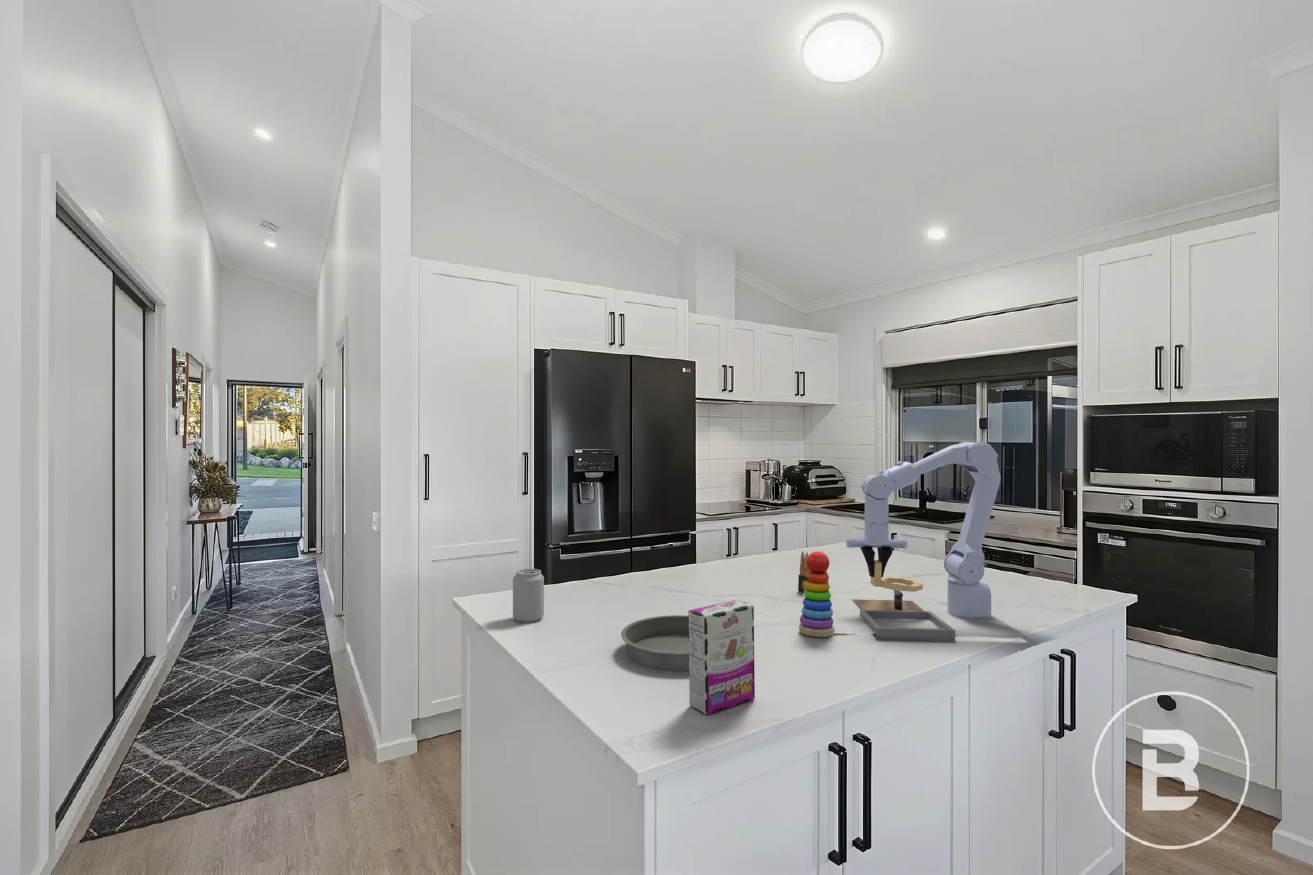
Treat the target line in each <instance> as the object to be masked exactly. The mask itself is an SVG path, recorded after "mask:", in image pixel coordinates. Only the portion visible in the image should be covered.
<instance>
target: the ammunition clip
mask: <svg viewBox="0 0 1313 875" xmlns="http://www.w3.org/2000/svg"><path fill="white" fill-rule="evenodd" d="M805 552H806V553H805ZM805 552H804V551H803V550H802V551H801V553H800V562H799V574H798V578H797V580H798V582H797V588H798V589H797V592H798V591H799V592H801V593H800V594H802V593H804V591H805V590H806V588H805V583H806V582H807V581H809V580H808V579H807V577H806V576H807V573H809V572H811V570H810V569H809V568H808V566H807V558H808V556H809V554H808V551H805ZM825 573H827V574H828V569H827V570H826V571H825ZM827 583H828V584H829V580H828V581H827ZM828 591H829V592H830V590H828ZM799 592H798V593H799Z"/></svg>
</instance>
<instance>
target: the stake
mask: <svg viewBox="0 0 1313 875" xmlns="http://www.w3.org/2000/svg"><path fill="white" fill-rule="evenodd" d="M903 597H904V594H903V591H896V590H893V600H894V609H899V610H900V609H902V601H903Z"/></svg>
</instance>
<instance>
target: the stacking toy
mask: <svg viewBox="0 0 1313 875" xmlns="http://www.w3.org/2000/svg"><path fill="white" fill-rule="evenodd" d="M807 566H808V568H809V569H810V570H811V572H809V573H807V576H806V577H807V579H808V580H809V581H807V582H806V583H805V588H806V590H805V591H804V590H803V592H804V594H803V596H804V598H803V600H802V605H803V607H802V608H801V613H802V614H801V615H800V616H799V622H800V624H799V625H798V630H799V632H800V633H801V634H802V635H804V636H808V637H812V638H828V637H831V636H833V635H834V634H835V631H836V630H835V627H834V619H833V617H832V616H833V614H834V611H833V609H832V606H833V602H832V601H831V597H832V594H831V592H830V590H829V589H830V584H829V580H830V576H829V574H828V572H827V573H825V571H826V570H827V571H828V570H829V566H830V558H829V557H828V556H827V554H826V553H824V552H823V551H813V552H811V553H809V554H808V558H807ZM827 581H828V583H827ZM828 590H829V591H828Z"/></svg>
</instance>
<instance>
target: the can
mask: <svg viewBox="0 0 1313 875" xmlns="http://www.w3.org/2000/svg"><path fill="white" fill-rule="evenodd" d="M544 582H545V577H544V575H543V574H542V570H540V569H538V568H522V569H518V570H516V571H515V575H514V576H513V578H512V618H513V619H514V620H515V621H516V622H517V623H523V624H525V623H527V624H528V623H529V624H530V623H536V622H539V621H540V620H541V619H542V618H543V617H544V616H545V583H544Z"/></svg>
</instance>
